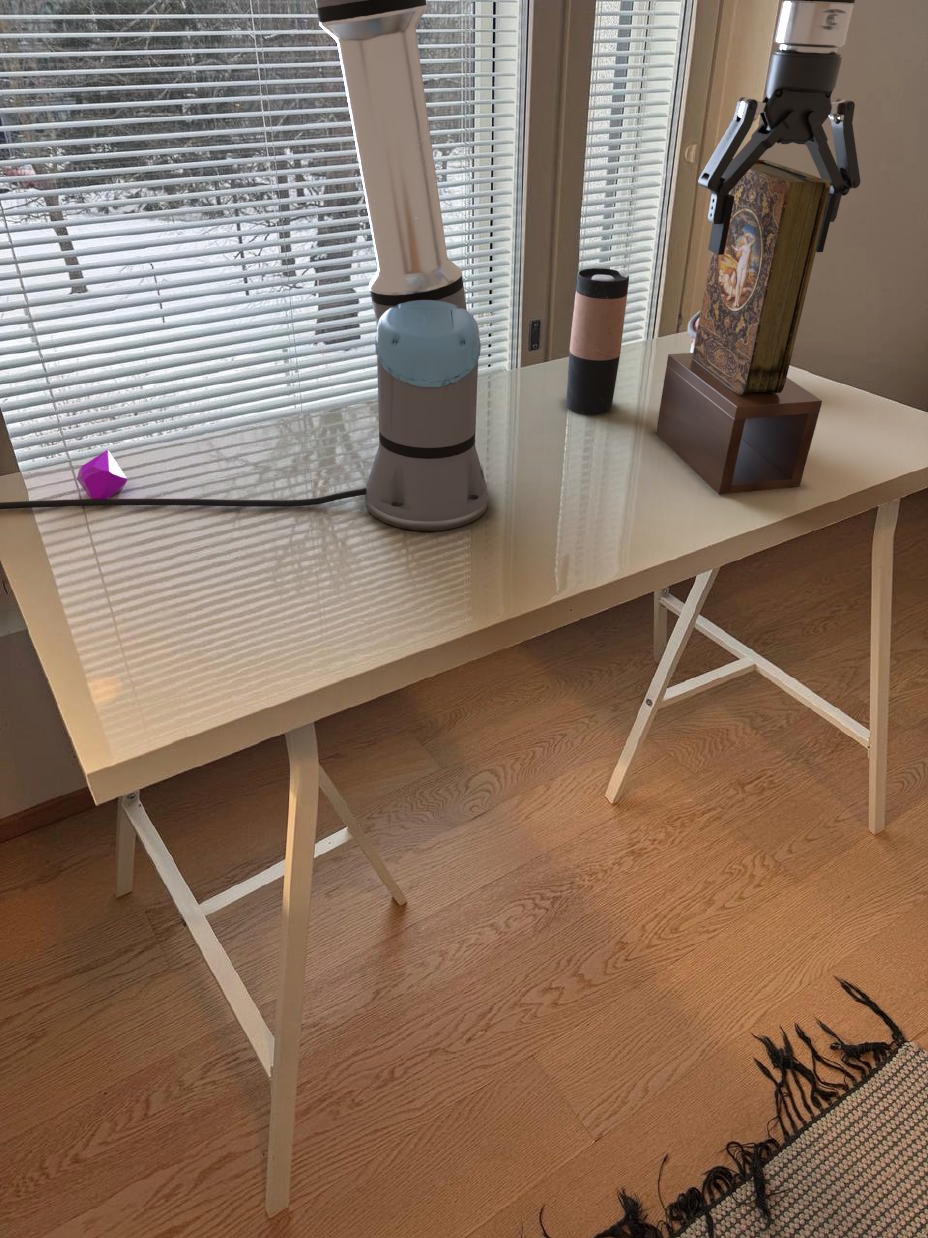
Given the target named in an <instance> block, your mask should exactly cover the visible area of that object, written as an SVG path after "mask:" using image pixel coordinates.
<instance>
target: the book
mask: <svg viewBox="0 0 928 1238" xmlns="http://www.w3.org/2000/svg"><path fill="white" fill-rule="evenodd" d="M733 159H734V158H733ZM733 159H732V160H733ZM732 160H731V161H732ZM829 192H830V182H829V181H828V180H825V179H822V178H821V177H819V176H816V175H813V174H810V173H808V172H807V173H806V172H803V171H801V170H798V169H795V168H791V167H788V166H785V165H783V164H780V163H776V162H773V161H771V160H766V159H760V158H759V159H758V160H757V161H756V163H755V164H754V165H753V166H752V167H751V168H750V169H749V170H748V172H747V173H746V174H745V175H744V176H743V177H742V178H741V180H740V181H739V182H738V183H737V184H736V185H735V186H734V187H733V189H732V190H731V191H730V192H729V193H728V194H730V195H732V196H735V198H734V203H733V208H732V214H731V219H730V224H729V230H728V235H727V240H726V246H725V251H724V255H718V254H716V253H714V252H712V251H710V254H709V259H708V264H707V265H708V266H707V271H706V277H705V283H704V287H703V295H702V299H701V306H700V310H701V311H700V310H699V311H700V317H699V322H698V328H697V334H696V340H695V345H694V351H693V357H692V359H693V360H694V361H695V362H697V363H698V364H699V365H700V366H702V367H703V368H704V369H705V370H707V371H708V372H709V373H711V374H712V375H713V376H714V377H716V378H717V379H718V380H719V381H721V382H722V383H723V384H725V385H726V386H727V387H728V388H730V389H731V390H733V391H734V392H736V393H737V394H739V395H745V394H746V393H750V392H771V393H781V392H782V390H783V388H784V385H785V382H786V378H788V373H789V369H790V365H791V360H792V356H793V352H794V347H795V342H796V339H797V335H798V334H797V333H798V330H799V326H800V322H801V317H802V313H803V309H804V304H805V300H806V295H807V292H808V288H809V287H808V286H809V284H810V283H809V282H810V278H811V275H812V274H811V273H812V270H813V266H814V261H815V257H816V253H817V252H816V249H817V244H818V240H819V236H820V231H821V227H822V223H823V218H824V214H825V210H826V205H827V201H828V197H829Z"/></svg>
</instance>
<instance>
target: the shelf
mask: <svg viewBox="0 0 928 1238" xmlns="http://www.w3.org/2000/svg"><path fill="white" fill-rule="evenodd" d="M692 357H693V353H690V352H683V353H682V352H681V353H668V354H667V360H666V367H665V373H664V380H663V386H662V391H661V398H660V403H659V404H660V405H659V411H658V417H657V423H656V428H655V429H656V430H655V435H656V436H657V437H658V438H660V439H661V440H662V442H664V443H665V444H666V445H667V446H668V447H669V448H670V449H671V450H672V451H673V452H674V453H675V454H676V455H677V456H678V457H679V458H680V459H681V460H682V461H683V462H685V464H686V465H687V466H689V467H690V468H691V470H693V471H694V472H695V473H696V474H697V475H698V476H699V477H700V478H701V479H702V480H703V481H704V482H705V483H706V484H708V485H709V486H710V487H711V489H713V490H714V491H715V492H716V494H718V495H724V494H725V495H726V494H735V493H745V492H746V493H747V492H757V491H766V490H768V491H769V490H777V489H778V490H779V489H787V488H797V487H798V488H799V487H801V485H802V484H801V483H802V480H803V476H804V473H805V468H806V465H807V460H808V457H809V454H810V449H811V446H812V442H813V438H814V434H815V431H816V426H817V423H818V419H819V415H820V412H821V407H822V405H823V400H822V399H820V398H819V397H817V396H816V395H815V394H813V393H812V392H810V391H809V390H807V389H805V388H804V387H802V386H801V385H799V384H798V383H797V382H795V381H793V380H792V379H791V378H789V377H787V378H786V382H785V385H784V388H783V390H782V392H781V393H771V392H750V393H746V394H745V395H739V394H737V393H736V392H734V391H733V390H731V389H730V388H728V387H727V386H726V385H725V384H723V383H722V382H721V381H719V380H718V379H717V378H716V377H714V376H713V375H712V374H711V373H709V372H708V371H707V370H705V369H704V368H703V367H702V366H700V365H699V364H698V363H697V362H695V361H694V360H693V359H692Z"/></svg>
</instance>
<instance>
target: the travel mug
mask: <svg viewBox="0 0 928 1238" xmlns="http://www.w3.org/2000/svg"><path fill="white" fill-rule="evenodd" d="M629 284H630V275H629V274H627V276H623V275H621V273H620V271H618V270H616V269H612V268H603V267H594V268H591V267H590V268H585V269H581V270H579V271H578V273H577V277H576V287H575V296H574V303H573V304H574V305H573V312H572V313H573V315H572V324H571V334H570V342H569V354H568V367H567V368H568V369H567V381H566V400H565V401H566V402H565V405H566V408H567V409H568V410H570V411H572V412H574V413H577V414H581V415H586V416H597V415H598V416H599V415H604V414H606V413H609V412H610V411H611V410H612V407H613V402H614V395H615V389H616V383H617V376H618V372H619V371H618V370H619V364H620V358H621V350H622V344H623V343H622V342H623V333H624V325H625V317H626V308H627V300H628V291H629Z"/></svg>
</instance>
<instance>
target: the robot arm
mask: <svg viewBox="0 0 928 1238" xmlns="http://www.w3.org/2000/svg"><path fill="white" fill-rule="evenodd" d="M314 2H315V7H316V13H317V17H318V23H319V26H320V27H321V28H322V29H323V30H324V31H325V33H327V34H328V35H330V37H332V38H333V39H334V40H335V42H336V43H337V47H338V48H337V49H338V53H339V60H340V65H341V71H342V76H343V82H344V87H345V92H346V97H347V103H348V109H349V115H350V120H351V125H352V131H353V137H354V141H355V142H354V143H355V148H356V153H357V159H358V164H359V169H360V176H361V181H362V186H363V190H364V197H365V198H364V199H365V203H366V209H367V213H368V219H369V225H370V231H371V236H372V241H373V247H374V252H375V258H376V263H377V270H376V273H375V275H374V276H373V277H372V279H371V280H370V281H369V284H368V288H369V292H370V299H371V304H372V309H373V314H374V319H375V326H376V334H375V339H374V349H375V355H376V367H377V368H376V369H377V370H376V371H377V372H376V373H377V408H378V409H377V410H378V412H377V413H378V417H377V418H378V447H377V450H376V453H375V457H374V460H373V462H372V465H371V470H370V472H369V476H368V479H367V482H366V486H365V487H362V488H357V489H352V490H346V491H341V492H335V493H332V494H328V495H324V496H320V497H319V496H318V497H312V498H301V499H299V498H298V499H220V498H218V499H217V498H108V499H91V498H82V499H81V498H80V499H76V498H75V499H47V500H26V501H25V500H21V501H20V500H19V501H1V502H0V510H15V509H16V510H17V509H32V508H33V509H36V508H37V509H38V508H63V507H64V508H65V507H96V506H97V507H105V506H106V507H107V506H109V507H111V506H117V507H118V506H190V507H192V506H197V507H198V506H200V507H251V508H253V507H258V508H259V507H267V508H268V507H271V508H273V507H274V508H276V507H277V508H279V507H281V508H283V507H285V508H286V507H287V508H288V507H289V508H291V507H305V506H316V505H317V506H318V505H321V504H322V505H323V504H327V503H330V502H335V501H340V500H344V499H349V498H355V497H360V496H365V506H366V508H367V510H368V512H369V513H370V515H372V516H373V517H375V518H376V519H377V520H379V521H380V522H382V523H385V524H387V525H390V526H392V527H396V528H399V529H404V530H410V531H418V532H419V531H420V532H423V531H424V532H437V531H446V530H452V529H456V528H459V527H463V526H466V525H468V524H471V523H473V522H474V521H476V520H478V519H479V518H481V516H483V514H484V513H485V512H486V510H487V509H488V499H489V498H488V497H489V495H488V485H487V481H486V478H485V472H484V467H483V464H482V463H481V461H480V458H479V455H478V452H477V448H476V430H477V429H476V428H477V404H478V403H477V402H478V381H479V380H478V379H479V377H478V375H479V358H480V355H481V348H482V344H481V338H480V329H479V325H478V322H477V320H476V318H475V317H474V316H473V315H472V314H471V313H470V312H469V311H468V307H467V300H466V293H465V285H464V279H463V271H462V269H461V267H459V265H457V264H456V263H454V262H453V261H452V260H450V259H449V257H448V253H447V245H446V244H447V243H446V238H445V237H446V236H445V231H444V224H443V223H444V222H443V216H442V215H443V214H442V210H441V209H442V208H441V201H440V193H439V186H438V182H437V181H438V180H437V173H436V166H435V165H436V164H435V159H434V158H435V157H434V150H433V145H432V144H433V143H432V137H431V130H430V123H429V116H428V107H427V101H426V93H425V85H424V79H423V72H422V64H421V58H420V50H419V43H418V36H417V27H418V24H419V23H420V21H421V19H422V18H423V15H424V14H425V13H426V11H427V9H428V7H427V4H428V3H427V0H314ZM855 2H856V0H793V1H792V0H782V2H781V5H780V6H781V7H780V11H779V16H778V21H777V25H776V30H775V34H774V43H775V44H776V45H778V48H777V49H775V50H774V52H773V53H771V58H770V63H769V67H768V73H767V78H766V93H765V95H764V98H763V99H762V100H761V101H758V100H757V99H754V98H749V97H744V96H742V97H740V98H739V99H738V101H737V103H736V107H735V110H734V115H733V118H732V120H731V122H730V124H729V125H728V127H727V129H726V131H725V133H724V134H723V136H722V137H721V139H720V141H719V142H718V144H717V146H716V148H715V149H714V151H713V153H712V155H711V156H710V158H709V160H708V161H707V163H706V165H705V167H704V168H703V170H702V172H701V174H700V175H699V177H698V179H697V183H698V185H699V186H700V187H703V188H705V189H707V190H709V191H710V193H711V197H710V201H709V208H708V214H707V221H708V223H710V224H712V225H711V229H710V236H709V241H708V247H707V250H708V251H710V252H711V251H712V252H714V253H716V254H718V255H724V251H725V246H726V240H727V235H728V230H729V224H730V219H731V214H732V208H733V203H734V198H735V196H732V195H730V194H728V193H729V192H730V191H731V190H732V189H733V187H734V186H735V185H736V184H737V183H738V182H739V181H740V180H741V178H742V177H743V176H744V175H745V174H746V173H747V172H748V170H749V169H750V168H751V167H752V166H753V165H754V164H755V163H756V161H757V160H758V159H760V158H761V157H762V156H763V155H764V154H765V152H766V151H767V150H769V149H771V148H772V147H774V145H775V144H779V145H789V144H792V143H793V144H797V145H805V146H806V148H807V150H808V152H809V155H810V156H811V158H812V161H813V163H814V166H815V167H816V170H817V172H818V175H819V176H820V178H822V179H825V180H828V181H829V182H830V192H829V197H828V201H827V205H826V210H825V214H824V218H823V223H822V227H821V231H820V236H819V240H818V244H817V249H816V253H823V252H824V248H825V244H826V241H827V238H828V237H827V236H828V232H829V229H830V225H831V223H834V222H835V220H836V219H837V216H838V213H839V208H840V203H841V201H842V197H843V196H846V195H848V194H849V193H850V190H851V189H857V188H858V187H859V186H860V185H861V174H860V167H859V161H858V154H857V146H856V139H855V131H854V126H853V122H854V121H853V120H854V114H855V108H856V107H855V106H856V104H855V101H853V100H849V99H843V98H838V99H836V100H835V101H832V94H833V91H834V90H835V89H836V86H837V84H838V83H837V82H838V78H839V73H840V69H841V65H842V60H843V56H842V54H841V53H839V52H838V51H839V48H843V47H844V46H846V42H847V37H848V33H849V28H850V25H851V20H852V16H853V11H854V7H855V4H856V3H855ZM759 116H760V118H761V121H762V122H761V123H760V125H758V127H757V128H756V129H755V131H753V133H752V134H751V137H750V139H749V140H748V142H747V143H746V144H745V145H744V146H743V147H742V149H741V150H739V148H740V147H741V145H742V144H743V141H744V140H745V138H746V137H747V135H748V133H749V131H750V130H751V128H752V126H753V123H754V122H755V121H756V120H758V119H759ZM828 118H829V121H830V123H831V124H830V125H831V133H832V139H833V146H834V152H835V158H834V154H833V153H832V151H831V148H830V146H829V144H828V136H827V134H826V131H825V129H824V127H823V125H824V123H825V122H826V120H827V119H828ZM738 150H739V152H738ZM732 159H733V160H732ZM835 159H836V160H835ZM731 160H732V161H731Z"/></svg>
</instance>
